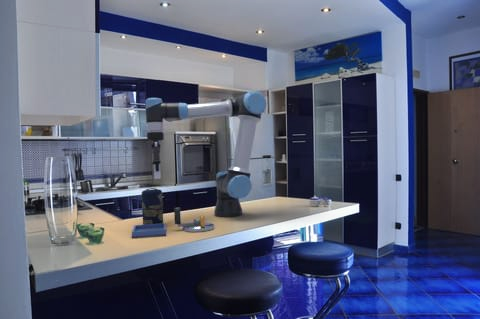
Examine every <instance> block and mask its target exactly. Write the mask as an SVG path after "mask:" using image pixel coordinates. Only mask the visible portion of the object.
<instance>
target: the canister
mask: <svg viewBox="0 0 480 319" xmlns="http://www.w3.org/2000/svg"><path fill="white" fill-rule="evenodd" d="M163 203H164V202H163V191H162V189H158V188H155V187H150V188H146V189H144V190H142V191H141V210H142V211H141V212H142V213H141V214H142V215H141V216H142V225H147V224H162V223H164V208H163V207H164V204H163Z"/></svg>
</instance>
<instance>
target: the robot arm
mask: <svg viewBox="0 0 480 319" xmlns="http://www.w3.org/2000/svg"><path fill="white" fill-rule="evenodd" d="M266 108H267V100H266V98H265V96H264V94H262V92H260V91H257V90H254V91H253V90H252V91H248V92H246V93H243V94H242V95H239V96H237V97H234V98H227V99H226V100H224V101H223V100H222V101H213V102H203V103H202V102H201V103H191V104H187V103H186V102H163V100H162V98H159V97H148V98H146V100H145V121H146V124H145V128H146V131H147V132H146V140H147V141H148V142H149V141H150V142H152V144H151V152H152V153H153V155H152V156H153V161H152V165H153V178H154V180H158V179H161V178H162V177H161V175H162V174H161V159H160V153H161V144H160V142H159V141H164V140H165V138H164V134H165V133H164V121H166V122H168V123H171V122H177V121H182V120H184V121H185V120H193V119H194V120H196V119H205V118H215V117H223V116H227V117H229V118H232V117H237V118H238V119H239V125H238V130H237V136H236V141H235V146H234V151H233V158H232V162H231V166H230V167H229V168H227V171H219V172H217V173H216V178H215V181H216V205H215V207H214V211H213V212H214V213H213V214H214V216H215V217H221V218H222V217H225V218H229V217H230V218H232V217H239V216H242V215H243V207H242V205H241V202H240V199H244V198H246V197H247V196H249V194H250V192H251V191H252V180H251V171H250V170H249V167H250V163H251V162H250V161H251V157H252V152H253V146H254V140H255V134H256V128H257V124H258V123H259V122H261V118H262V114H263V113H264V112H265V110H266Z"/></svg>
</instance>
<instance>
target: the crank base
mask: <svg viewBox="0 0 480 319" xmlns="http://www.w3.org/2000/svg"><path fill="white" fill-rule="evenodd" d="M199 218H200V226H184V227H182V231H184V232H187V233H205V232H209V231H213V230H214V229H215V224H214V223H213V222H207V221H206V220H205V219H206V218H205V216H204V215H201V216H199ZM205 221H206V222H205Z"/></svg>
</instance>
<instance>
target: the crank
mask: <svg viewBox="0 0 480 319" xmlns="http://www.w3.org/2000/svg"><path fill="white" fill-rule="evenodd" d="M173 215H174V225H177V228H181V227H184V226H200V217H199V218H198V217H197V218H193V221H191V222H181V217H182V216H181V207H178V206H177V207H174V208H173Z"/></svg>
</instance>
